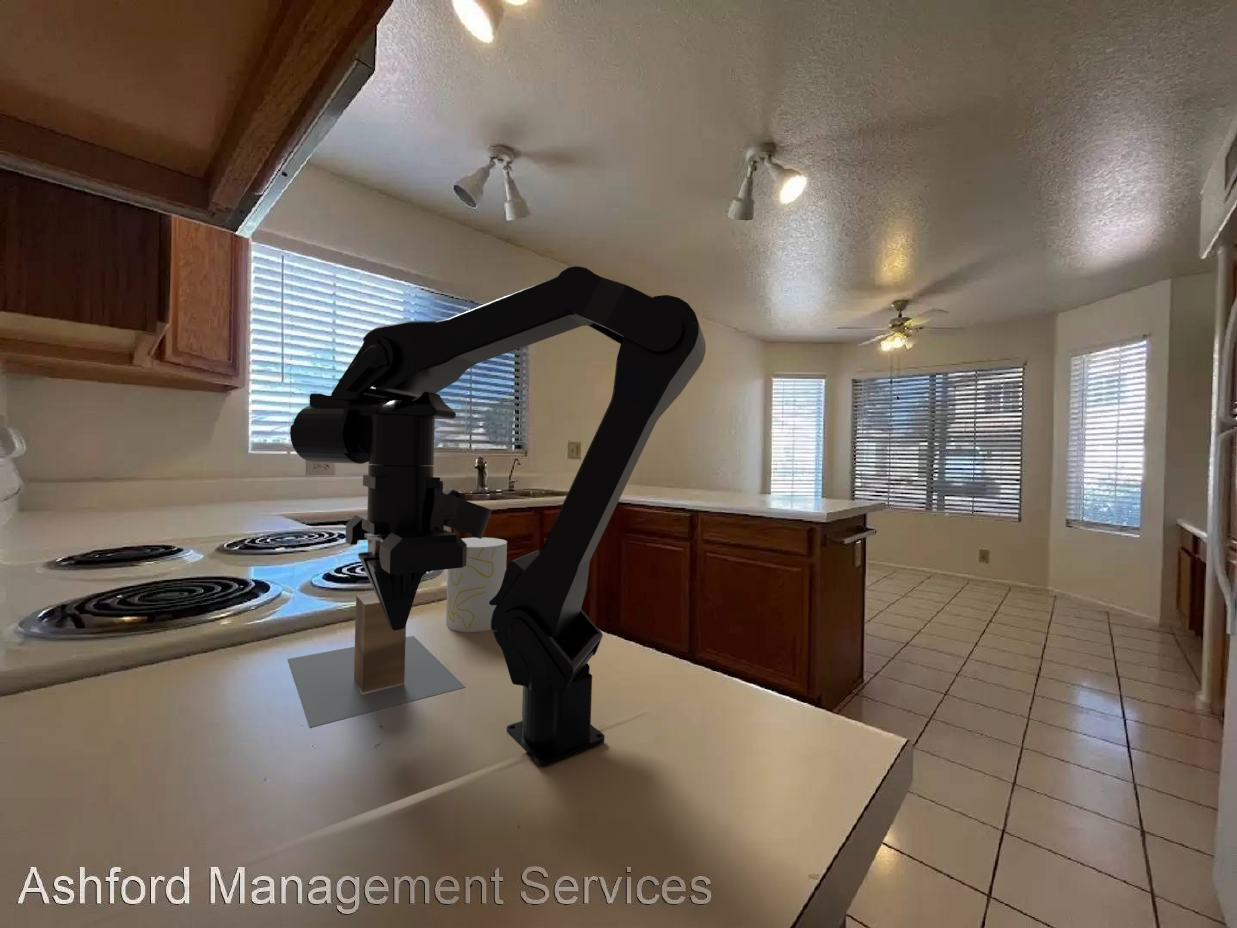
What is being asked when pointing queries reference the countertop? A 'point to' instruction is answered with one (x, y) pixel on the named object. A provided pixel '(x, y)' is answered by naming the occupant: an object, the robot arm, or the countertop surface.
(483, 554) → the cup
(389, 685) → the walnut block
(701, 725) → the countertop surface
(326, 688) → the mat
